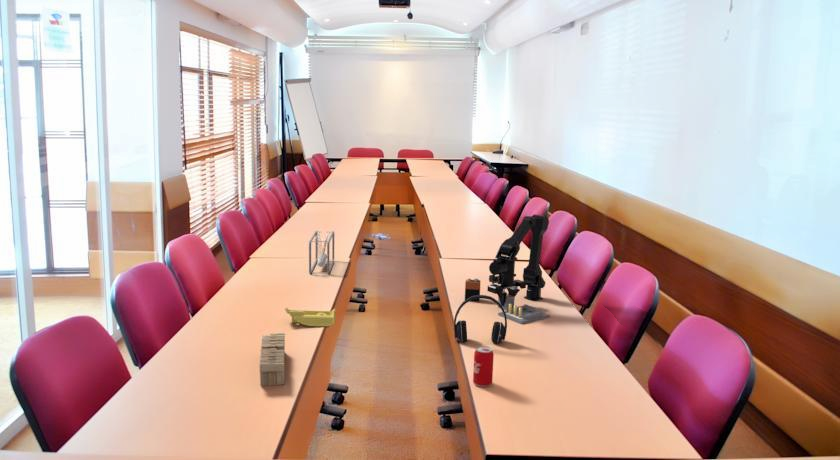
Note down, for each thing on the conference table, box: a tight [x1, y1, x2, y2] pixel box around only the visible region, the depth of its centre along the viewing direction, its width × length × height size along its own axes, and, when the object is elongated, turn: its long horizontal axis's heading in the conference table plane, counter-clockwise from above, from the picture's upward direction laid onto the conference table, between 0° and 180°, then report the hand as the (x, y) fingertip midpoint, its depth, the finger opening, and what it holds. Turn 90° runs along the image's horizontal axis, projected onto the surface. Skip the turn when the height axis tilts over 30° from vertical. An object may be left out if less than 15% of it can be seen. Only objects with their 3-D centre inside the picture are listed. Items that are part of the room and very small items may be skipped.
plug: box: [497, 293, 515, 311], centre depth 295 cm, size 4×6×6 cm
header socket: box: [497, 303, 551, 325], centre depth 285 cm, size 17×14×6 cm
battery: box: [464, 278, 481, 302], centre depth 307 cm, size 4×7×10 cm, turn 83°
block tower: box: [259, 332, 286, 387], centre depth 222 cm, size 8×8×29 cm
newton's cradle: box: [308, 230, 335, 275], centre depth 357 cm, size 30×10×18 cm, turn 2°
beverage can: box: [472, 345, 495, 388], centre depth 215 cm, size 6×6×12 cm
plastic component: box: [284, 307, 336, 328], centre depth 270 cm, size 20×7×10 cm
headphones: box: [453, 294, 508, 344], centre depth 252 cm, size 20×7×18 cm, turn 88°
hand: (505, 305), depth 296 cm, fingers closed on plug, 4 cm apart
